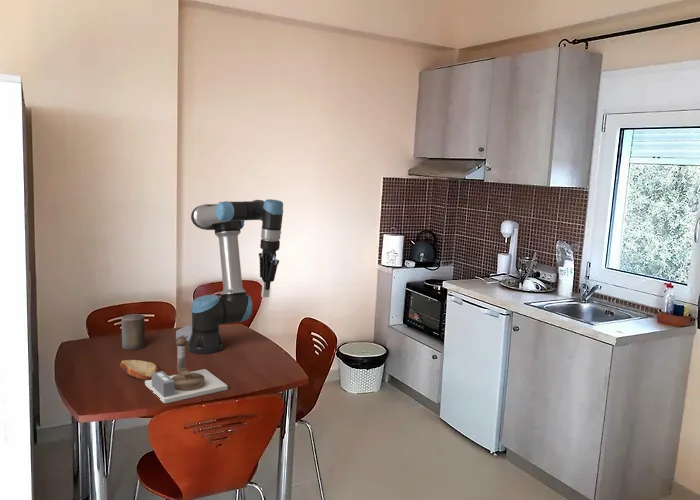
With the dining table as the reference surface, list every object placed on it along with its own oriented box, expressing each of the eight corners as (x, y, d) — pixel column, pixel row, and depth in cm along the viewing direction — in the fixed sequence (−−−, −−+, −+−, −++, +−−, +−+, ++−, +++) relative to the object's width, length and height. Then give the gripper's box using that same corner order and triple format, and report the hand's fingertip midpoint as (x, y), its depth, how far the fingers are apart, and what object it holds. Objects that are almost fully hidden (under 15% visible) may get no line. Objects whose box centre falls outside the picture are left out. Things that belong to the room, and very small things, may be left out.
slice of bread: (123, 363, 246) (122, 354, 246) (167, 364, 247) (166, 356, 246) (106, 380, 229) (105, 370, 228) (153, 381, 229) (153, 372, 228)
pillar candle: (149, 346, 267) (149, 313, 265) (131, 351, 259) (130, 318, 257) (135, 341, 273) (134, 309, 270) (117, 347, 264) (116, 314, 262)
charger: (209, 333, 290) (193, 342, 276) (192, 330, 293) (175, 339, 278) (209, 323, 289) (193, 332, 275) (192, 321, 292) (175, 329, 278)
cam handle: (208, 387, 221) (208, 346, 218) (175, 392, 215) (175, 350, 212) (195, 371, 235) (195, 333, 233) (164, 376, 229) (163, 337, 226)
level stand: (145, 384, 225) (144, 367, 224) (205, 372, 239) (205, 356, 238) (164, 403, 209) (164, 385, 208) (227, 389, 224) (227, 372, 222)
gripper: (287, 242, 233) (281, 300, 238) (271, 235, 243) (266, 291, 248) (269, 243, 228) (264, 302, 233) (254, 235, 239) (249, 292, 243)
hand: (265, 296), depth 241 cm, fingers closed
